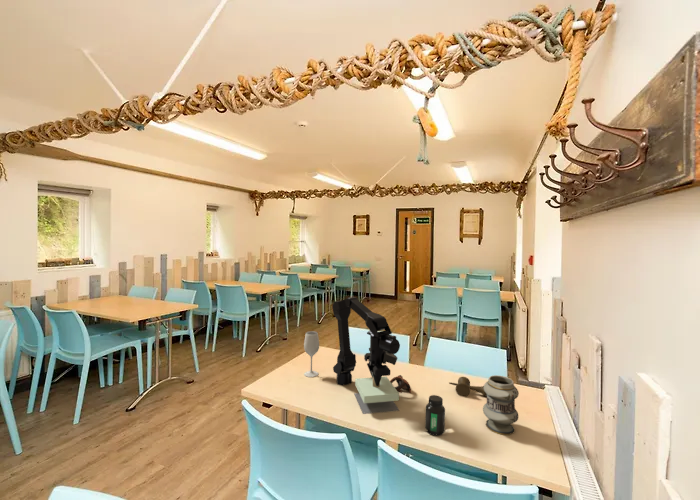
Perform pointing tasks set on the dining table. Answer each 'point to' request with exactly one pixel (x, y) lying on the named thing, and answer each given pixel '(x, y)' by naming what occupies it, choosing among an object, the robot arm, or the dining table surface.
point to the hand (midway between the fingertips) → (376, 383)
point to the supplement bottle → (435, 416)
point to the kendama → (467, 387)
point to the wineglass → (311, 349)
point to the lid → (376, 390)
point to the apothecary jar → (500, 404)
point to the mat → (375, 406)
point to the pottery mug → (401, 383)
